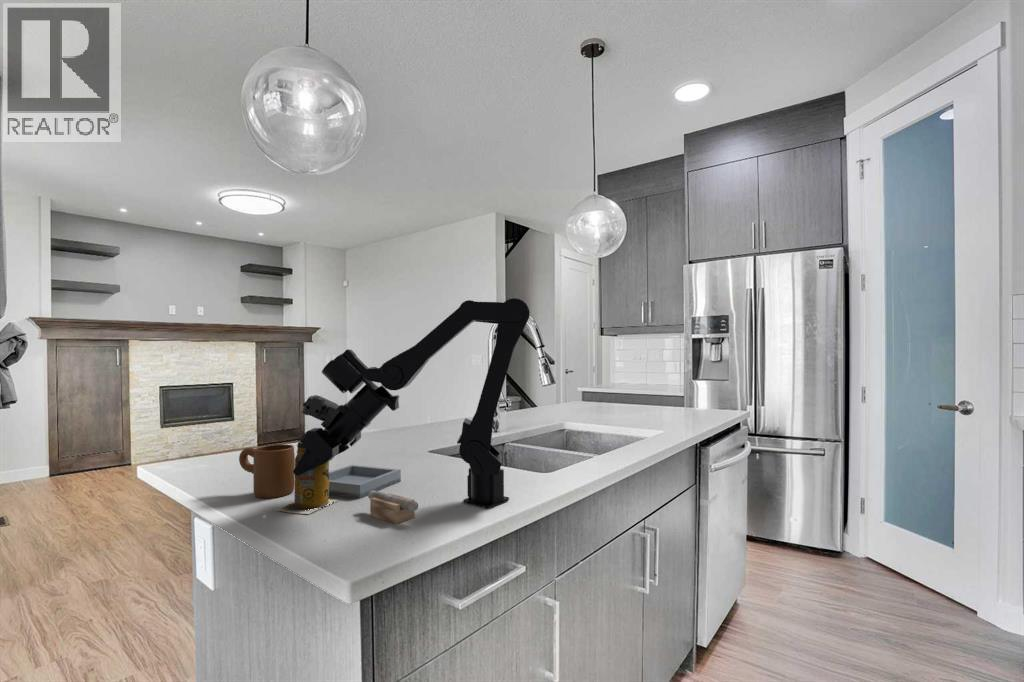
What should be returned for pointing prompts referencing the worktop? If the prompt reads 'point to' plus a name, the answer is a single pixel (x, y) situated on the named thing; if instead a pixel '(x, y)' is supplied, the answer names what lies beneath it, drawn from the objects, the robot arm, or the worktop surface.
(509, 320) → the robot arm
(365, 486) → the grey shallow square tray
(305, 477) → the condiment
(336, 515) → the worktop surface
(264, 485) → the mug
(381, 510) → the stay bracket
